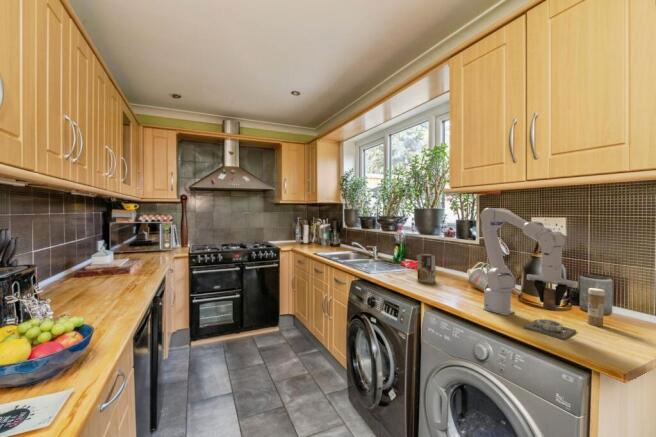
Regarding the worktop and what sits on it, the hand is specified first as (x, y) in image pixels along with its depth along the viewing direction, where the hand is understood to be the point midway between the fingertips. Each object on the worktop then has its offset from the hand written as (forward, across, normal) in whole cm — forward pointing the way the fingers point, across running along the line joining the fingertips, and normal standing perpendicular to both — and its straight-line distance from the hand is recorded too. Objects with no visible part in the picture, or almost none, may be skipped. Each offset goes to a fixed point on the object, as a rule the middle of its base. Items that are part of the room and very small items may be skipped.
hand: (550, 303), depth 103 cm
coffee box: (+10, +70, -26) cm, 75 cm away
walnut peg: (+2, 0, 0) cm, 2 cm away
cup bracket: (+9, 0, 0) cm, 9 cm away
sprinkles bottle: (+10, -8, -21) cm, 24 cm away
